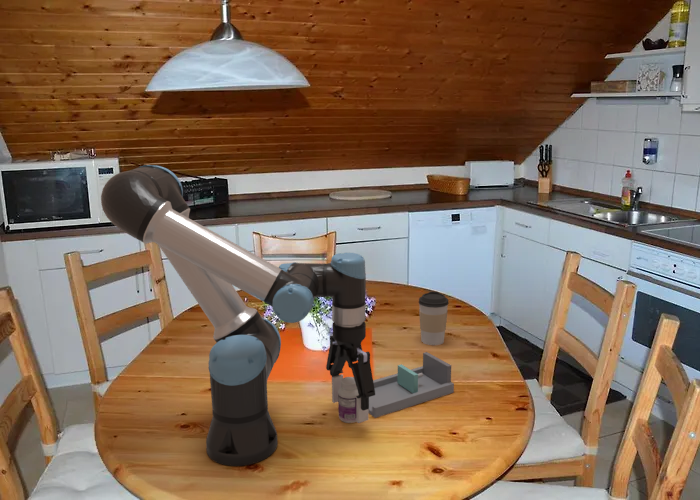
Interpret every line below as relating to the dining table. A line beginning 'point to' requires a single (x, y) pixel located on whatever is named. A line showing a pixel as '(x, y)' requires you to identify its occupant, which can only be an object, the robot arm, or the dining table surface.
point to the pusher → (408, 378)
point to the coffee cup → (433, 317)
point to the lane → (397, 397)
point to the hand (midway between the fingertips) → (349, 410)
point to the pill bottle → (347, 400)
